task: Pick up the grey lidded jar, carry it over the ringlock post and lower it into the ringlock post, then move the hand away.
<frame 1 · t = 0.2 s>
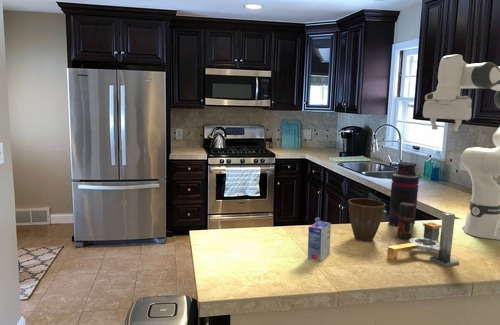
hand: (444, 130, 167), 47 cm above the countertop, fingers open, 8 cm apart
plant pot: (363, 239, 175), on the countertop
thermos bottle: (402, 224, 199), on the countertop
deodorant: (404, 238, 178), on the countertop
ringlock post: (424, 253, 160), on the countertop
ink cartridge box: (318, 256, 153), on the countertop
grey lidded jar: (430, 245, 169), on the countertop
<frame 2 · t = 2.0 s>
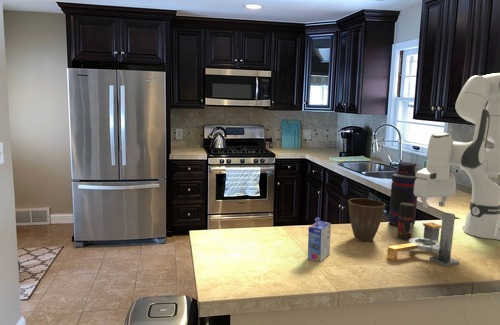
hand: (433, 207, 167), 16 cm above the countertop, fingers open, 8 cm apart
nothing on the countertop moved.
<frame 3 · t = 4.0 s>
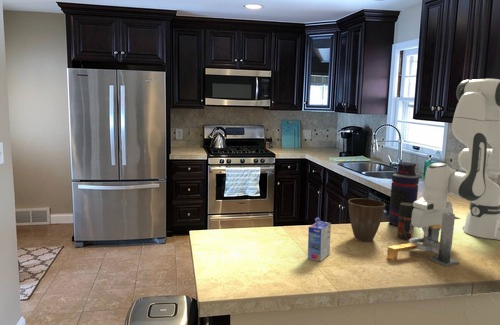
hand: (431, 235, 169), 4 cm above the countertop, fingers closed on grey lidded jar, 4 cm apart
grey lidded jar: (430, 245, 169), on the countertop, touching gripper
everything else where it was.
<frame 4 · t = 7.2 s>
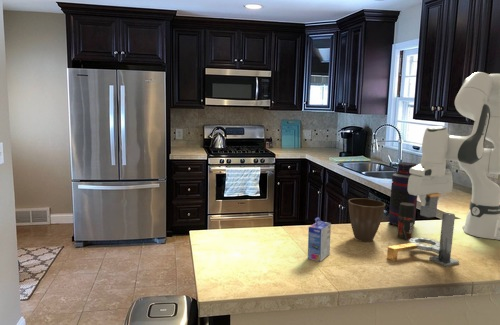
hand: (428, 205, 157), 19 cm above the countertop, fingers closed on grey lidded jar, 4 cm apart
grey lidded jar: (427, 215, 158), point 15 cm above the countertop, touching gripper
everything else where it was.
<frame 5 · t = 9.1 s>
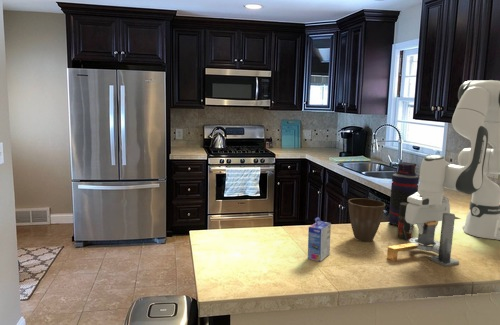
hand: (426, 233, 158), 8 cm above the countertop, fingers closed on grey lidded jar, 4 cm apart
grey lidded jar: (425, 243, 159), point 4 cm above the countertop, touching gripper
everything else where it was.
when the fingers open (6 cm above the countertop, at t = 10.5 s): grey lidded jar drops 1 cm, resting in ringlock post.
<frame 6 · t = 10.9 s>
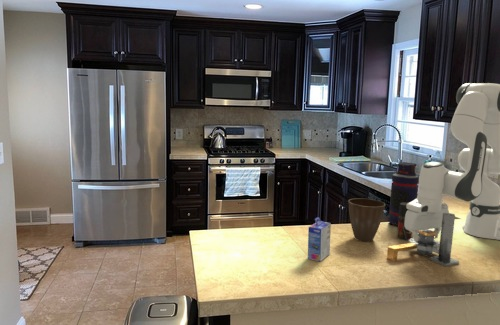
hand: (425, 239, 159), 6 cm above the countertop, fingers open, 8 cm apart
grey lidded jar: (424, 253, 160), resting in ringlock post
everything else where it was.
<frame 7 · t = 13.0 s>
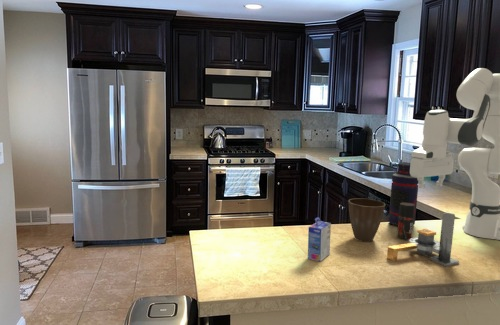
hand: (430, 186, 162), 25 cm above the countertop, fingers open, 8 cm apart
nothing on the countertop moved.
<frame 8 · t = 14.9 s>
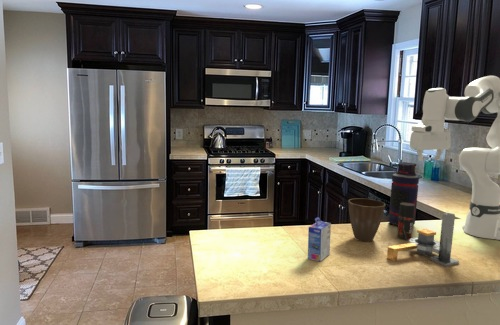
hand: (429, 160, 173), 34 cm above the countertop, fingers open, 8 cm apart
nothing on the countertop moved.
at the end: grey lidded jar 0.1 cm off-centre on the ringlock post, point 0.0 cm above the ringlock post's base; grey lidded jar tilted 0°; the gripper is holding nothing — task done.
